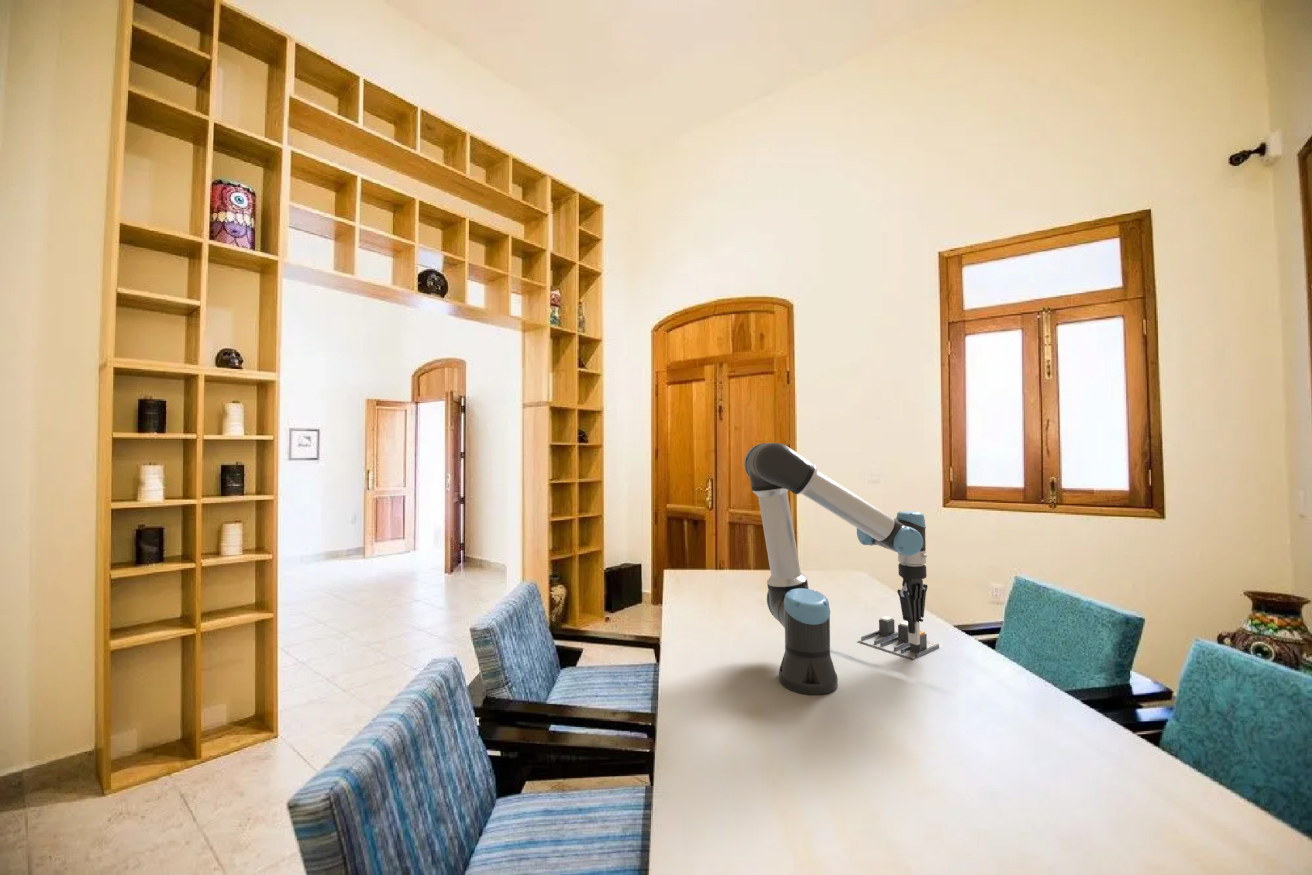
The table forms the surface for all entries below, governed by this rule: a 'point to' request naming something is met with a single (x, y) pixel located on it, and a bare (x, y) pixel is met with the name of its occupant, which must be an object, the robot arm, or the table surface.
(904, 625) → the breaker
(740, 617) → the table surface
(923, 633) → the block
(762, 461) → the robot arm
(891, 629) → the breaker
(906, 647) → the panel
